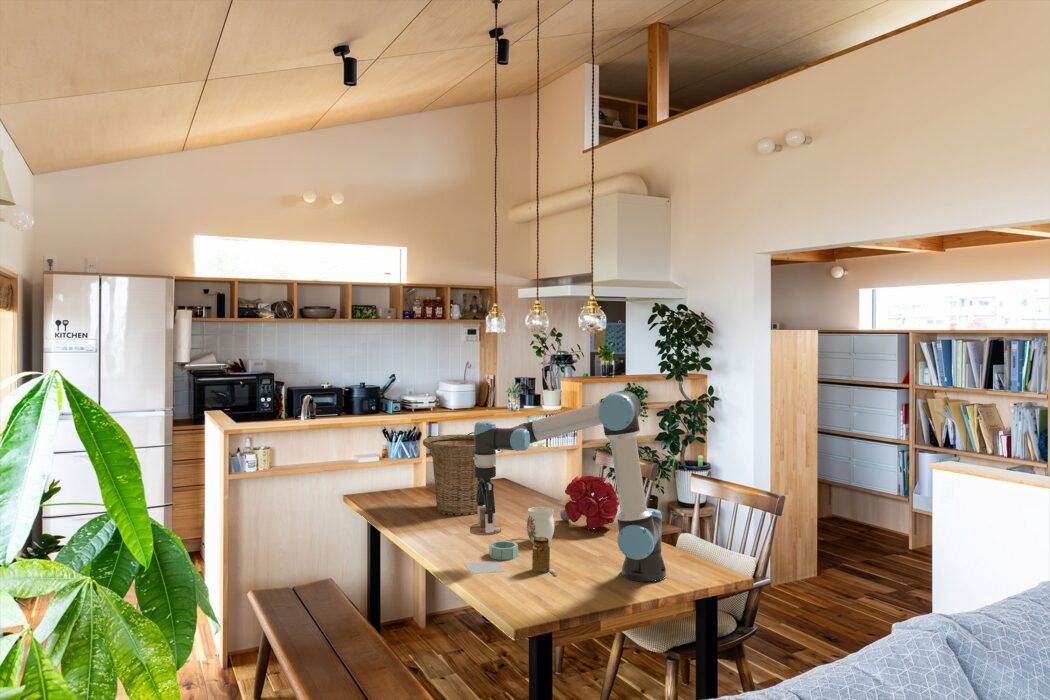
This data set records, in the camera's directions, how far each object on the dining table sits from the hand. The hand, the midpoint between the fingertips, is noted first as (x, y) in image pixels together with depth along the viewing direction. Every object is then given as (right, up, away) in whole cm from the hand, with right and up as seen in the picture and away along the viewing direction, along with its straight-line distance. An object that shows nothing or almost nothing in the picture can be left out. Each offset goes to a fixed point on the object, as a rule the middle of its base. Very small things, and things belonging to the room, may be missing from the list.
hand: (485, 528), depth 256 cm
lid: (0, -1, 0) cm, 1 cm away
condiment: (+20, -15, -3) cm, 25 cm away
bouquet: (+41, -14, +59) cm, 73 cm away
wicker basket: (-17, -13, +85) cm, 88 cm away
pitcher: (+19, -14, +35) cm, 42 cm away
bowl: (+6, -15, +14) cm, 21 cm away
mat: (-1, -15, 0) cm, 15 cm away
